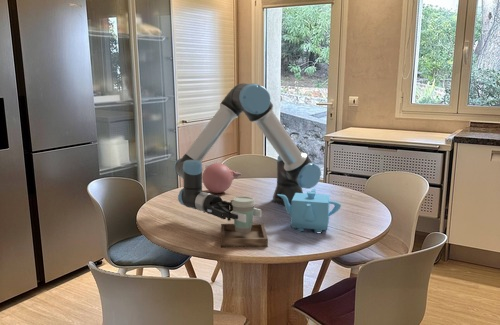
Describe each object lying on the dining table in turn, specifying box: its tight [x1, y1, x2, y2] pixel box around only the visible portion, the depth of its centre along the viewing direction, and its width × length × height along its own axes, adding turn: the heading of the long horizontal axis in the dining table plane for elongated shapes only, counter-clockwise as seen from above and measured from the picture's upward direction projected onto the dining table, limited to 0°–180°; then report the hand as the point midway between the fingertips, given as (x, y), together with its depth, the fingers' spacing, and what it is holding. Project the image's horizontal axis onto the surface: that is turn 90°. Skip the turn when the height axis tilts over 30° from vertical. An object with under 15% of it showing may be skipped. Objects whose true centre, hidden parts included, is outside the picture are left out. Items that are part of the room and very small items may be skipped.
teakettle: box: [277, 188, 342, 233], centre depth 172 cm, size 19×19×15 cm
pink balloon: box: [202, 162, 243, 194], centre depth 224 cm, size 15×20×15 cm
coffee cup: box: [232, 195, 256, 233], centre depth 160 cm, size 8×9×12 cm
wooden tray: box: [220, 222, 269, 248], centre depth 161 cm, size 16×16×3 cm
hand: (253, 216), depth 156 cm, fingers closed on coffee cup, 8 cm apart
